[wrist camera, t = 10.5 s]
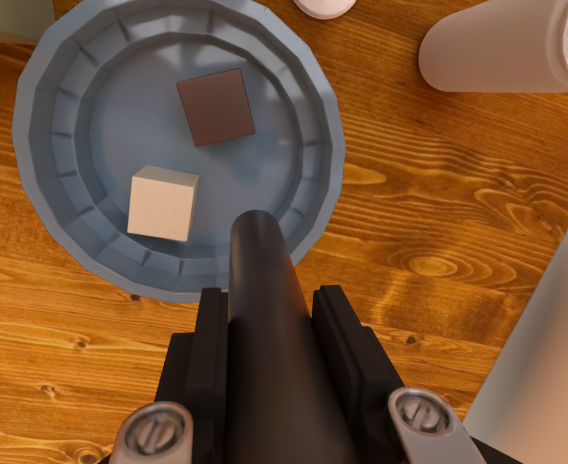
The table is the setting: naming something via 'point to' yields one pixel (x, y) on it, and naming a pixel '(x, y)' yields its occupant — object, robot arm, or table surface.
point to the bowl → (172, 136)
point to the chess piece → (324, 7)
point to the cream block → (162, 203)
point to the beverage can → (499, 48)
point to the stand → (25, 20)
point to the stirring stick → (276, 360)
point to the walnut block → (216, 107)
